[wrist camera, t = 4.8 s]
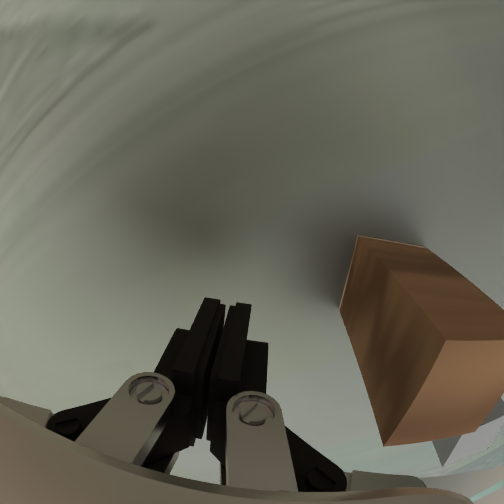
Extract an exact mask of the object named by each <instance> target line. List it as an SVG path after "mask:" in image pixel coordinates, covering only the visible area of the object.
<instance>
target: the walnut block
mask: <svg viewBox="0 0 504 504" xmlns="http://www.w3.org/2000/svg"><path fill="white" fill-rule="evenodd" d="M339 311H340V313H341V316H342V319H343V322H344V324H345V327H346V330H347V333H348V336H349V338H350V341H351V344H352V347H353V350H354V353H355V356H356V359H357V362H358V365H359V368H360V371H361V374H362V377H363V380H364V383H365V386H366V389H367V393H368V396H369V399H370V402H371V406H372V409H373V412H374V415H375V419H376V422H377V426H378V429H379V433H380V436H381V440H382V443H383V446H393V445H403V444H411V443H419V442H426V441H432V440H438V439H444V438H449V437H454V436H459V435H463V434H468V433H472V432H475V431H476V430H477V429H478V428H479V426H480V425H481V424H482V422H483V421H484V420H485V419H486V417H487V416H488V414H489V413H490V412H491V410H492V409H493V408H494V406H495V405H496V403H497V402H498V400H499V399H500V397H501V396H502V394H503V393H504V310H503V309H502V308H501V307H500V306H499V305H497V304H496V303H495V302H494V301H493V300H492V299H491V298H489V297H488V296H487V295H486V294H485V293H484V292H482V291H481V290H480V289H479V288H478V287H476V286H475V285H474V284H473V283H471V282H470V281H469V280H468V279H467V278H465V277H464V276H463V275H462V274H460V273H459V272H458V271H456V270H455V269H454V268H453V267H451V266H450V265H449V264H447V263H446V262H445V261H443V260H442V259H441V258H439V257H438V256H437V255H435V254H434V253H433V252H431V251H430V250H429V249H427V248H426V247H422V246H417V245H411V244H406V243H400V242H395V241H389V240H384V239H378V238H372V237H366V236H360V235H357V237H356V242H355V246H354V251H353V255H352V259H351V263H350V267H349V271H348V275H347V279H346V283H345V287H344V291H343V294H342V298H341V302H340V305H339Z"/></svg>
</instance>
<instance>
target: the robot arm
mask: <svg viewBox="0 0 504 504" xmlns="http://www.w3.org/2000/svg"><path fill="white" fill-rule="evenodd" d="M251 306H252V305H251V304H244V303H238V302H237V303H236V306H231V305H230V307H229V311H228V314H227V318H226V321H225V325H224V317H225V304H220V300H218V299H212V298H206V297H205V298H204V300H203V302H202V304H201V307H200V309H199V311H198V313H197V315H196V318H195V320H194V322H193V324H192V326H191V329H190V330H185V329H180V328H177V329H176V330H175V332H174V334H173V336H172V338H171V340H170V342H169V344H168V346H167V347H166V349H165V351H164V353H163V355H162V357H161V359H160V361H159V363H158V365H157V367H156V369H155V371H154V372H143V373H138V374H135V375H133V376H131V377H130V378H129V379H128V380H126V381H125V383H124V384H123V385H122V386H121V387H120V389H119V390H118V391H117V392H116V393H115V394H114V396H113V397H112V398H108V399H105V400H101V401H98V402H94V403H90V404H87V405H83V406H79V407H75V408H71V409H67V410H63V411H60V412H58V413H56V414H52V412H51V410H49V409H45V408H41V407H37V406H33V405H30V404H26V403H23V402H19V401H16V400H13V399H9V398H6V397H0V504H474V503H473V502H472V501H471V500H470V499H469V498H467V497H465V496H464V495H462V494H459V493H456V492H452V491H448V490H442V489H435V488H427V487H426V485H425V484H424V482H423V481H422V480H420V479H419V478H417V477H414V476H408V475H392V474H381V473H372V472H363V471H356V470H353V471H352V472H351V473H348V472H343V470H341V469H340V468H339V467H338V466H337V465H336V464H334V463H333V462H332V461H330V460H329V459H327V458H326V457H325V456H323V455H322V454H321V453H319V452H318V451H317V450H315V449H314V448H313V447H311V446H310V445H309V444H307V443H306V442H305V441H304V440H302V439H301V438H300V437H298V436H297V435H296V434H295V433H293V432H292V431H291V430H290V429H288V428H287V427H286V426H285V425H284V420H283V415H282V410H281V408H280V405H279V404H278V402H277V401H276V400H275V399H274V398H272V397H271V396H269V395H267V394H266V383H267V363H268V343H265V342H258V341H251V340H247V333H248V326H249V319H250V313H251ZM223 327H224V328H223ZM207 416H208V418H207ZM206 420H207V440H209V441H211V443H210V451H211V453H212V454H213V455H214V456H215V457H216V458H217V459H218V460H219V461H220V485H218V484H212V483H206V482H201V481H196V480H191V479H186V478H182V477H178V476H173V475H169V474H170V472H171V470H172V468H173V466H174V464H175V462H176V460H177V458H178V456H179V451H181V450H183V449H185V448H188V447H189V446H194V443H195V439H196V438H198V439H202V436H203V432H204V428H205V424H206Z"/></svg>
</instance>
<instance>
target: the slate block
mask: <svg viewBox="0 0 504 504" xmlns="http://www.w3.org/2000/svg"><path fill="white" fill-rule="evenodd" d="M503 424H504V402H503V400H502V399H501V397H500V399H499V400H498V402H497V403H496V405H495V406H494V408H493V409H492V410H491V412H490V413H489V414H488V416H487V417H486V419H485V420H484V421H483V422H482V424H481V425H480V426H479V428H478V429H477V430H476V431H475V432H472V433H468V434H463V435H459V436H454V437H449V438H444V439H438V440H432V442H433V444H434V447H435V449H436V452H437V454H438V457H439V459H440V462H441V465H442V467H444V466H447V465H450V464H452V463H455V462H457V461H460V460H462V459H465V458H467V457H469V456H472V455H474V454H476V453H478V452H481V451H483V450H485V449H487V448H488V447H489V446H490V444H491V443H492V441H493V440H494V438H495V437H496V435H497V434H498V432H499V431H500V429H501V427H502V426H503Z"/></svg>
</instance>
